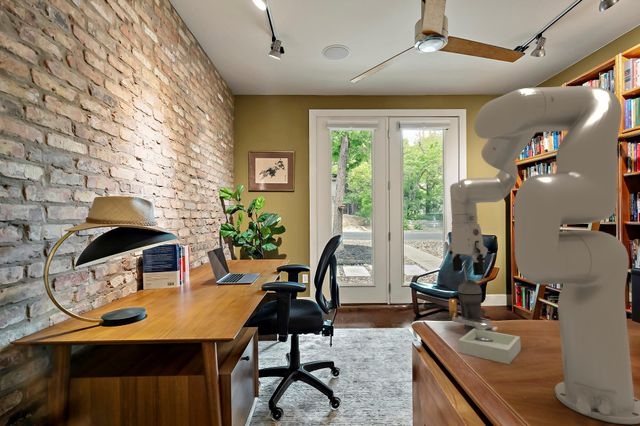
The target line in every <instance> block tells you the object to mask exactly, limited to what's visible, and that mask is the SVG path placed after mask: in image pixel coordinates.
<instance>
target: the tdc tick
mask: <svg viewBox="0 0 640 426" xmlns="http://www.w3.org/2000/svg"><path fill="white" fill-rule="evenodd" d="M492 327H493V329H492V330H490V331H492V332H496V331H497V330H498V328H499V327H497V326H492Z"/></svg>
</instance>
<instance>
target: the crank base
mask: <svg viewBox="0 0 640 426" xmlns="http://www.w3.org/2000/svg"><path fill="white" fill-rule="evenodd" d="M485 331H491V330H485ZM468 332H470V331H468V330H467V332H466V333H465V335H466V334H467V333H468ZM491 332H493V331H491ZM475 340H477V341H483V342H493V340H488V339H483V338H478V337H476V338H475Z"/></svg>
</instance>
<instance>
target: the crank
mask: <svg viewBox="0 0 640 426" xmlns="http://www.w3.org/2000/svg"><path fill="white" fill-rule="evenodd" d="M448 306H449V307H448V309H449V317H451V322H453V323H458V324H462V325H464V324H465V325H470V326H473V327H474V328H475V329H478V330H489V331H491V330H492V329H493V327H494V326H493V322H492V321H491V320H488V319H481V320H475V319H470V318H465V317H463V316H459V313H458V312H459V311H458V299H457V298H449V299H448Z"/></svg>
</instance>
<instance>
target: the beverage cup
mask: <svg viewBox="0 0 640 426" xmlns="http://www.w3.org/2000/svg"><path fill="white" fill-rule="evenodd" d="M462 270H463V273H464V278H465V280H462V281H461V282H460V283H459V285H458V287H457V294H458V298H459V304H460V309H461V317H465V318H470V319H475V320H482V318H481V317H482V298H483V292H482V288H481V286H480V285H479V284H478V282H476V281H474V280H472V279H468V276H467V272H466V266H463V265H462ZM463 326H464V330H465V329H466V331H467V332H468V331H471V330H472V329H475V328H474V327H473V326H470V325H465V324H463Z"/></svg>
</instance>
